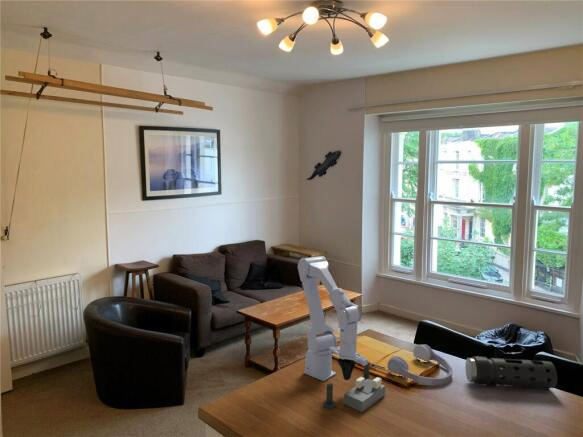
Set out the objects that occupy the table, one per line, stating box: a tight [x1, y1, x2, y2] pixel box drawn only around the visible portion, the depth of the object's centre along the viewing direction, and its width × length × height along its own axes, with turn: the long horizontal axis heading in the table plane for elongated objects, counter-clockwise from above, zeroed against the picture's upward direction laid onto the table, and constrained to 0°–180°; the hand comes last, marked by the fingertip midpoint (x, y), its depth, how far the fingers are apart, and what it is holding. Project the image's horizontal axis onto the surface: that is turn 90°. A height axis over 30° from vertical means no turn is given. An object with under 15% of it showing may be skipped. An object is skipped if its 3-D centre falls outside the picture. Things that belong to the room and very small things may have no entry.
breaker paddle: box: [355, 376, 365, 389], centre depth 146 cm, size 2×3×2 cm, turn 138°
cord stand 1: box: [322, 383, 336, 410], centre depth 141 cm, size 4×4×7 cm
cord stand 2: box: [362, 361, 373, 381], centre depth 157 cm, size 4×4×7 cm
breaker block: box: [343, 376, 386, 413], centre depth 145 cm, size 7×14×6 cm, turn 138°
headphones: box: [387, 344, 453, 387], centre depth 165 cm, size 22×7×20 cm
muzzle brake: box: [465, 355, 558, 391], centre depth 155 cm, size 10×28×10 cm, turn 84°
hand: (347, 378), depth 149 cm, fingers closed
